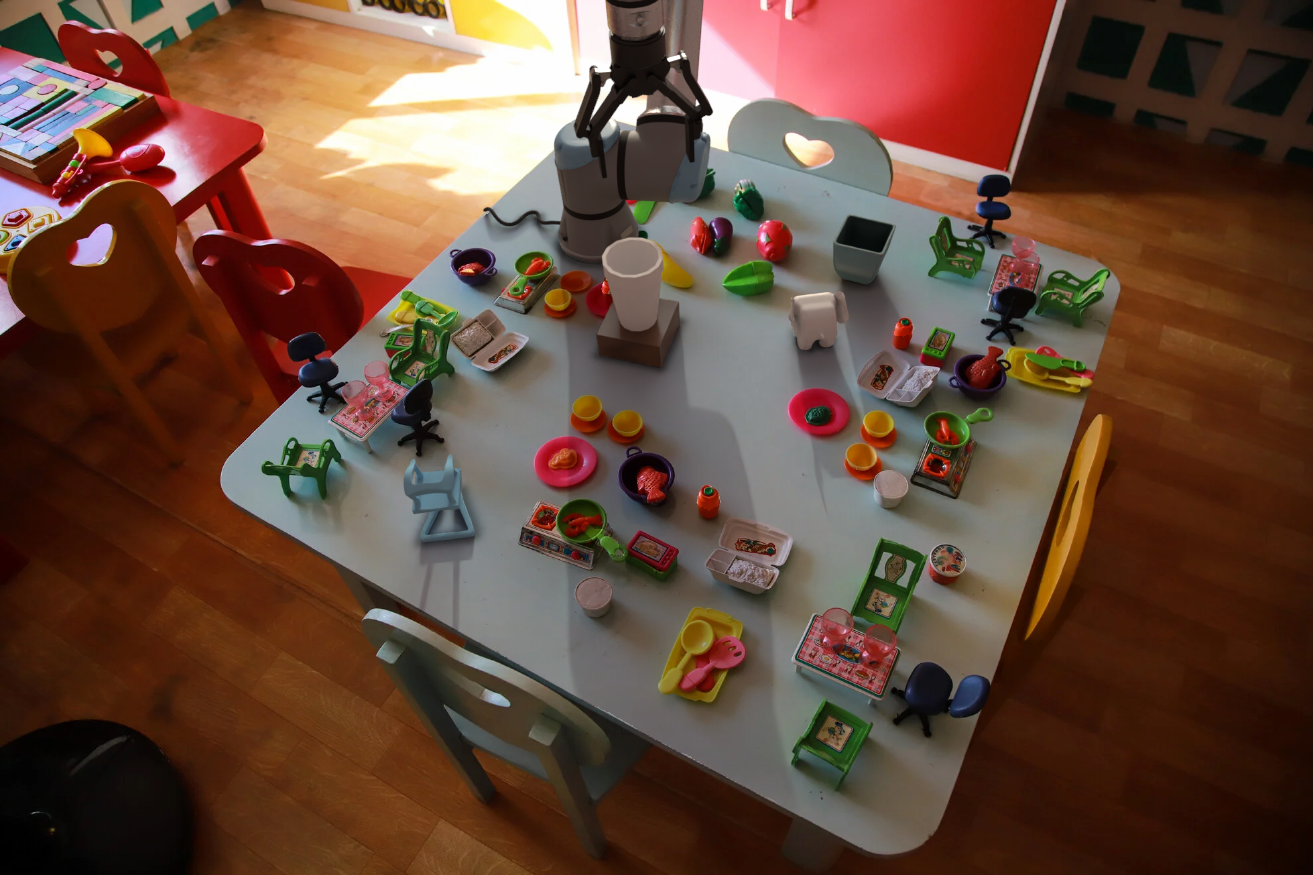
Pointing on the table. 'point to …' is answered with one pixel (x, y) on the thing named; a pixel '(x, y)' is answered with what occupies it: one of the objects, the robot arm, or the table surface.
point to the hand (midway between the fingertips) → (646, 165)
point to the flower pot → (861, 248)
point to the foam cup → (634, 281)
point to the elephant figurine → (817, 318)
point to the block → (639, 336)
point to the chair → (437, 497)
